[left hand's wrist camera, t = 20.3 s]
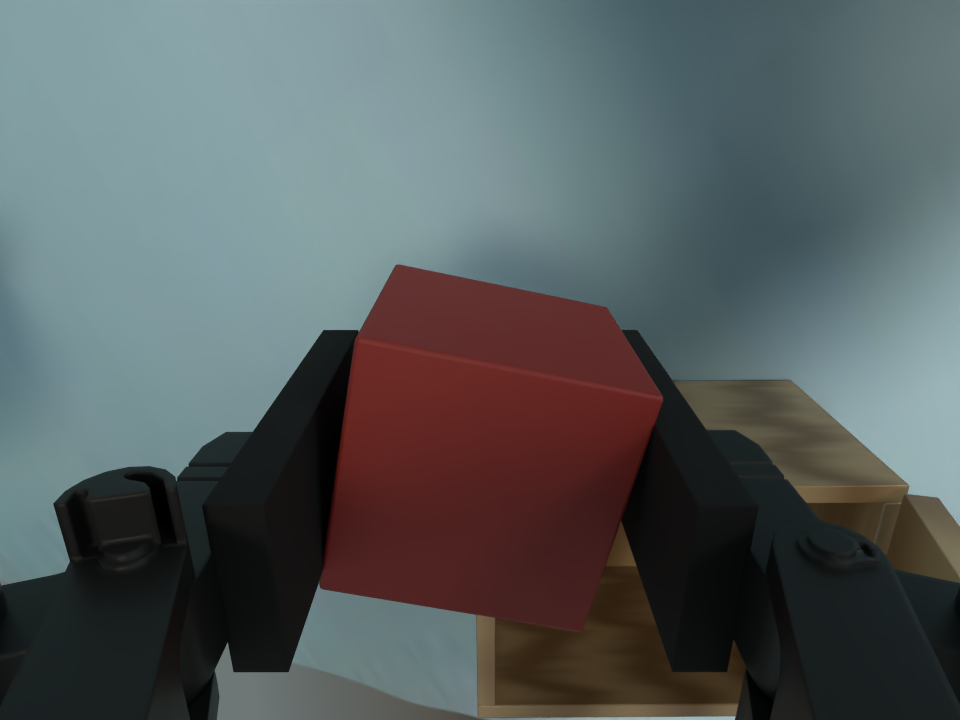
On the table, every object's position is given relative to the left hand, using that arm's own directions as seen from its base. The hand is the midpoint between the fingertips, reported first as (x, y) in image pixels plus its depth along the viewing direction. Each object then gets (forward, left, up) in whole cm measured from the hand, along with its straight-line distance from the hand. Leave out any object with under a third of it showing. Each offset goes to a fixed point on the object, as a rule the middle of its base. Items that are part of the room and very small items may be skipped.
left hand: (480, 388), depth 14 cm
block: (0, 0, 0) cm, 0 cm away
